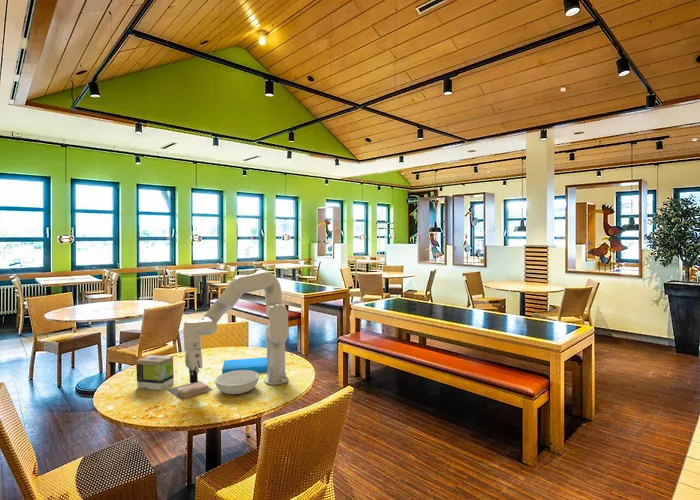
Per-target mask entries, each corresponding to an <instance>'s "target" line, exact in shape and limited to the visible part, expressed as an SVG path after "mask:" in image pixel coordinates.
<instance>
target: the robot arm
mask: <svg viewBox="0 0 700 500" xmlns="http://www.w3.org/2000/svg"><path fill="white" fill-rule="evenodd" d="M261 290H263V291H264V296H265V297H264V298H265V314H266V316H267V318H268V319H269V322H268V324H267V325H266V327H265V342H266V357H267V372H266V375H267V377H265V378H264V381H263V382H264V383H265V384H266V385H269V386H270V385H271V386H278V385H284V384H285V383H287V382H288V381H289V376H287V373H286V342H287V340H288V338H289V334H290V333H289V332H290V330H289V329H290V328H289V313H288V310H287V308H286V306H285V305H284V304H283V295H282V287H281V283H280V281H279V280H278V278H277V277H276V276H275V275H274V274H273V273H272V272H270V271H267V270H266V269H259V270H257V271H256V272H255V273H252V274H249V275H243V274H238V275H235V276H234V277H233V278H232V280H231V281H230V282H229V283H228V285H227V286H226V288H225V289H224V290H223V292H222V293H221V294H220V295H219V296H218V297H217V299H216V300H215V302H214V303H212V306H210V308H209V309H208V310H207V311H206V313H205V314H204V316H203V317H202V318H201V320H199V319H188V320H185V321H184V323H183V336H184V338H183V339H184V340H183V342H184V351H185V352H184V354H185V356H184V358H185V359H184V361H185V362H184V363H185V367H187V369H188V371H189V372H188V373H189V382H190V383H195V382H198V381H199V380H198V374H199V373H200V369H203V367H204V366H203V355H202V349H201V348H202V338H201V336H211V335H214V334H215V333H216V332H217V329H218V322H219V321H220V320H221V318H222V317H223V316H224V315H225V313H226V312H227V313H228V311H230V310H232V309H233V308H234V307H235V305H236V304H237V302H238V301H239V300H240V298H241V297H242V296H243V294H247V293H253V292H256V291H261ZM190 383H189V384H190Z"/></svg>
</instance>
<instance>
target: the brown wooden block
mask: <svg viewBox="0 0 700 500" xmlns="http://www.w3.org/2000/svg"><path fill="white" fill-rule="evenodd" d="M208 387H209V385H208V384H206V383H204V382H203V381H199V382H198V383H195V384H191V385H187V386H184V387H180V388H178V394H180V395H181V396H182V397H184V398H183V399H186V398H189V396H190V397H192V396H193V397H194V396H196V394H197V395H199V393H200V394H202V393H203V392H204V393H206V391H207V392H210V391H209V389H208ZM204 393H203V394H204Z"/></svg>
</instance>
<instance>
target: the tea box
mask: <svg viewBox="0 0 700 500" xmlns="http://www.w3.org/2000/svg"><path fill="white" fill-rule="evenodd" d="M135 361H136V362H135V365H136V366H135V368H136V369H135V370H136V386H137V387H139V388H138V389H144V388H145V390H154V391H155V390H156V391H163V390H165V389H166V388H168V387H170V386H171V385H174V383H175V381H174V380H175V378H174V377H175V375H174V356H169V355H157V354H156V355H155V354H149V355H145V356H144V357H141V358H138V359H136V360H135ZM137 387H136V388H137Z"/></svg>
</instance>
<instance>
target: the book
mask: <svg viewBox="0 0 700 500" xmlns="http://www.w3.org/2000/svg"><path fill="white" fill-rule="evenodd" d="M237 370H250V371H254V372H256V373H258V374H259V373H267V356H265V357H254V358H253V357H252V358H239V359H227V360H226V359H225V360H224V361H223V365H222V369H221V375H222V374H224V373H227V372H231V371H237Z"/></svg>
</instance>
